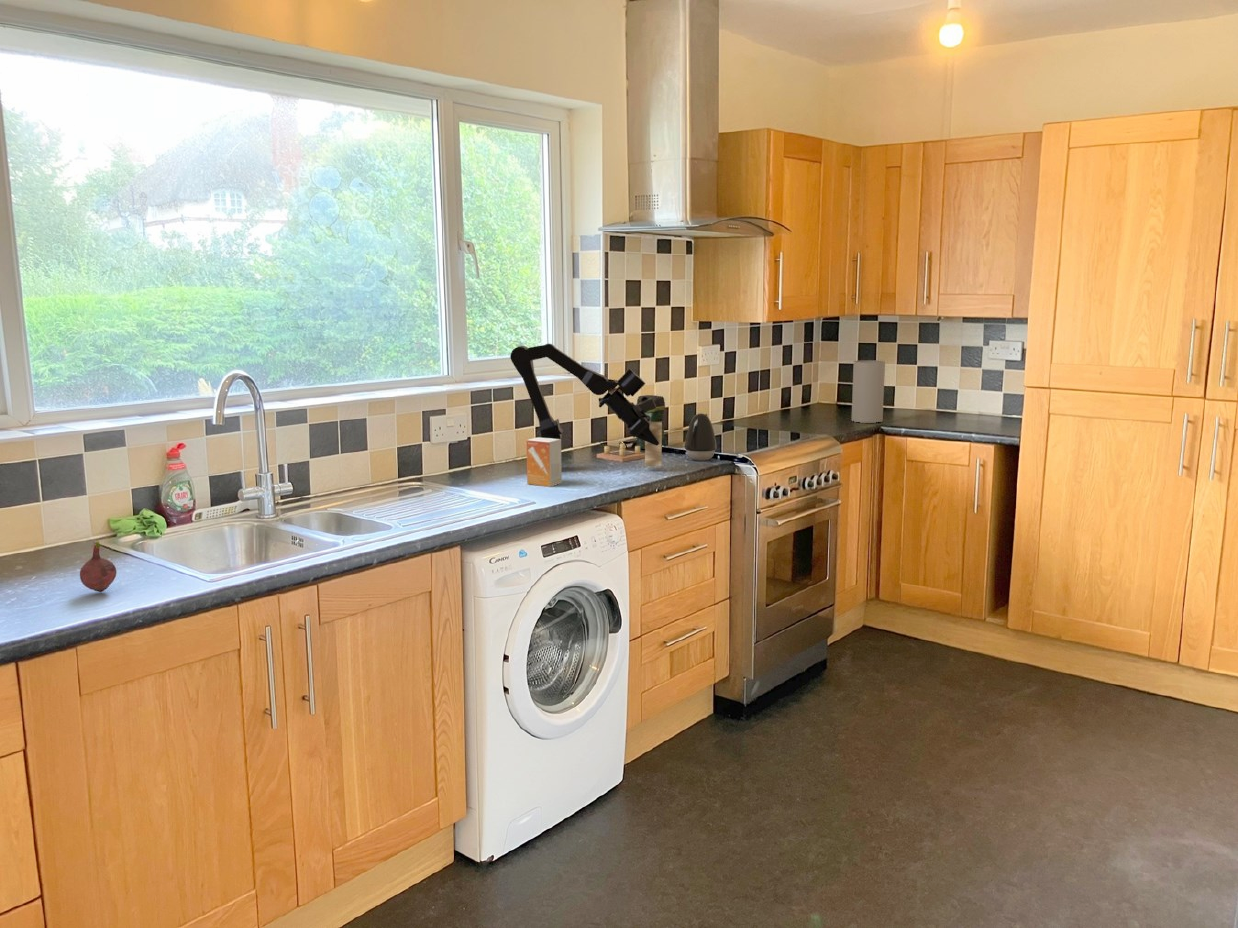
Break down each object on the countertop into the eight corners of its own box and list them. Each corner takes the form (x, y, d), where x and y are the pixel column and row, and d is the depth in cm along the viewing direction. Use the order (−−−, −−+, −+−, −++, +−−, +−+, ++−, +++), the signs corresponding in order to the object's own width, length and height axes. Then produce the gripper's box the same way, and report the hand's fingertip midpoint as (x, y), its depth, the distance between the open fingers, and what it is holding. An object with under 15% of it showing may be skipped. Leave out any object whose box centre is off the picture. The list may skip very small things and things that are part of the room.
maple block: (644, 465, 296) (645, 423, 294) (644, 463, 301) (645, 421, 299) (661, 466, 296) (661, 423, 294) (661, 463, 301) (661, 421, 299)
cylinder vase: (856, 419, 411) (858, 359, 407) (885, 420, 405) (888, 360, 401) (847, 422, 401) (849, 361, 396) (877, 424, 395) (880, 363, 390)
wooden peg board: (622, 461, 314) (622, 450, 313) (596, 457, 322) (596, 446, 322) (647, 457, 322) (647, 446, 321) (622, 453, 331) (622, 442, 330)
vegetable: (103, 599, 178) (97, 546, 176) (73, 597, 179) (67, 545, 177) (125, 589, 184) (120, 538, 182) (96, 587, 185) (91, 536, 183)
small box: (526, 484, 279) (525, 439, 277) (539, 480, 284) (538, 436, 282) (550, 487, 275) (549, 441, 273) (562, 483, 280) (561, 438, 278)
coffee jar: (668, 447, 341) (668, 395, 338) (656, 450, 335) (656, 397, 331) (645, 445, 347) (645, 393, 343) (633, 448, 340) (633, 395, 337)
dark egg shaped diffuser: (720, 457, 320) (721, 412, 318) (710, 463, 311) (710, 416, 308) (691, 455, 324) (691, 410, 322) (680, 460, 315) (680, 414, 312)
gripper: (641, 391, 285) (678, 429, 287) (640, 385, 304) (675, 420, 306) (614, 418, 287) (651, 455, 289) (615, 410, 305) (650, 445, 307)
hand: (657, 443), depth 298 cm, fingers closed on maple block, 5 cm apart
